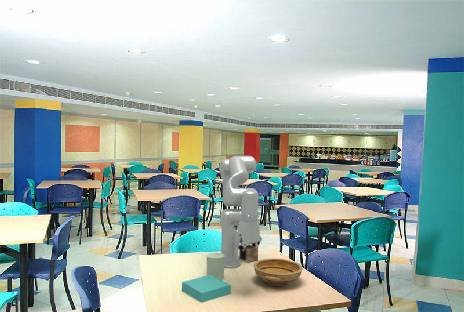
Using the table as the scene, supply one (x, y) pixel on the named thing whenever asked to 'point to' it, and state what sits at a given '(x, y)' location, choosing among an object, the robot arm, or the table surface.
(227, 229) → the robot arm
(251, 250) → the walnut cube
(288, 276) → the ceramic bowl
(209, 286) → the teal base
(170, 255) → the table surface
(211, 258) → the can
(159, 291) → the table surface
